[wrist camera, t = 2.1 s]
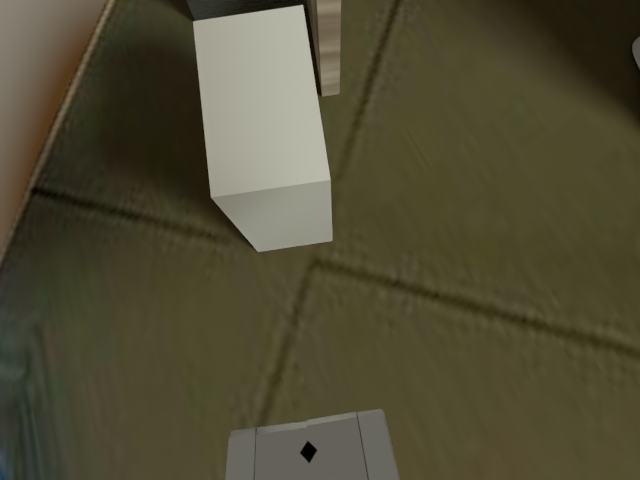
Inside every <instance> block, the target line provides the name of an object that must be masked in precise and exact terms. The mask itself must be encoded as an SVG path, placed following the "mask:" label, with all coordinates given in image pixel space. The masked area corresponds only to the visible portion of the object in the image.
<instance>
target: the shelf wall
mask: <svg viewBox="0 0 640 480" xmlns="http://www.w3.org/2000/svg"><path fill="white" fill-rule="evenodd" d="M307 3H308V11H309V18H310V24H311V30H312V36H313V43H314V49H315V55H316V62H317V68H318V74H319V81H320V87H321V93H322V97H323V96H330V95H336V94H340V32H341V0H307Z"/></svg>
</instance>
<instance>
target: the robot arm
mask: <svg viewBox="0 0 640 480" xmlns="http://www.w3.org/2000/svg"><path fill="white" fill-rule="evenodd" d="M632 51H633V55H634V58H635V60H636V63H637V65H638V67H639V69H640V36H639V37H638V38H637V39H636V40H635V41H634V43H633V45H632ZM225 480H400V478H399V474H398V469H397V465H396V461H395V457H394V452H393V448H392V444H391V439H390V435H389V431H388V427H387V422H386V418H385V414H384V412H383V410H382V408H381V409H375V410H369V411H363V412H357V414H356V412H352V413H346V414H340V415H334V416H328V417H322V418H316V419H310V420H307V421H302V422H295V423H287V424H279V425H272V426H264V427H255V428H248V429H242V430H235V431H231V435H230V438H229V443H228V454H227V466H226V477H225Z"/></svg>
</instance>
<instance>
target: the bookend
mask: <svg viewBox="0 0 640 480" xmlns="http://www.w3.org/2000/svg"><path fill="white" fill-rule="evenodd" d="M186 1H187V3H188V6H189V8H190V10H191V13H192V15H193V17H194V19H195V21H198V20H205V19H212V18H218V17H225V16H232V15H239V14H245V13H252V12H259V11H265V10H272V9H279V8H285V7H292V6H299V5H303V8H308V3H307V0H186Z"/></svg>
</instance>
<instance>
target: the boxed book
mask: <svg viewBox="0 0 640 480" xmlns="http://www.w3.org/2000/svg"><path fill="white" fill-rule="evenodd" d="M193 27H194V36H195V46H196V56H197V66H198V75H199V85H200V95H201V105H202V115H203V124H204V134H205V144H206V154H207V163H208V173H209V183H210V193H211V198H212V199H213V200H214V202H215V203H216V204H217V205H218V206H219V207H220V209H221V210H222V211H223V212H224V213H225V214H226V215H227V217H228V218H229V219H230V220H231V221H232V222H233V224H234V225H235V226H236V227H237V228H238V229H239V230H240V232H241V233H242V234H243V235H244V236H245V237H246V239H247V240H248V241H249V242H250V243H251V244H252V245H253V247H254V248H255V249H256V250H257V251H258V252H261V251H267V250H274V249H281V248H288V247H294V246H301V245H308V244H315V243H321V242H328V241H332V211H331V180H330V174H329V167H328V161H327V154H326V148H325V142H324V135H323V129H322V123H321V116H320V110H319V103H318V97H317V91H316V84H315V78H314V71H313V65H312V59H311V52H310V46H309V40H308V33H307V27H306V20H305V14H304V8H303V5H299V6H292V7H285V8H279V9H272V10H265V11H259V12H252V13H245V14H239V15H232V16H225V17H218V18H212V19H205V20H198V21H193Z"/></svg>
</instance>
